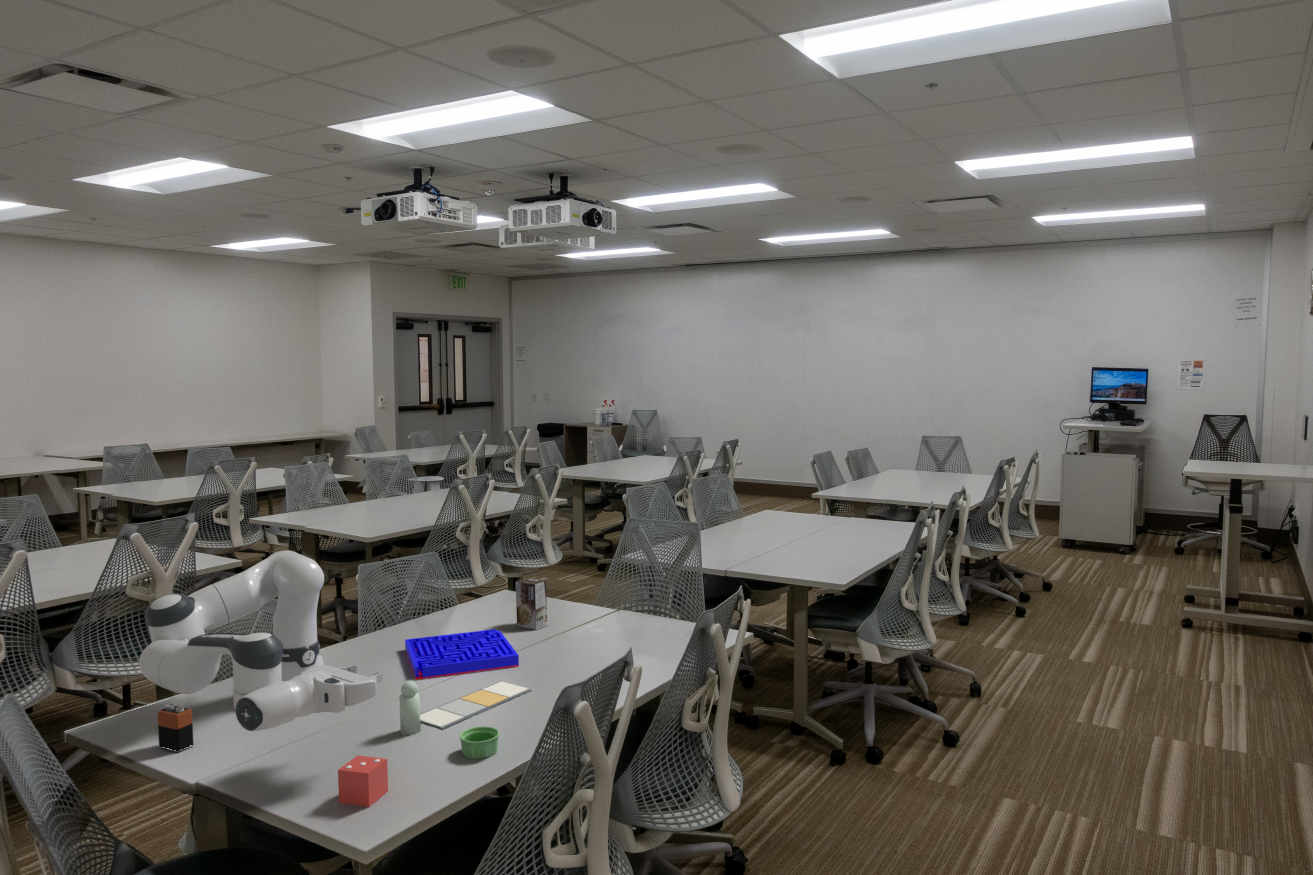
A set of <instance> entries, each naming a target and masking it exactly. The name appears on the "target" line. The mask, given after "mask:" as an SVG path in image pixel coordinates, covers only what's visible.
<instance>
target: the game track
mask: <svg viewBox="0 0 1313 875" xmlns="http://www.w3.org/2000/svg"><path fill="white" fill-rule="evenodd" d="M531 691H532V689H530V688H528V687H525V686H520V685H516V684H513V683H509V682H505V681H498V682H495V683H493V684H491V685H488V686H486V687H483V688H480V689H478V690H476V691H473V692H471V693H468V694H466V695H463V696H461V697H458V698H456V699H454V700H452V701H451V700H450V701H449V702H446V703H444V704H442V705H439V706H436V707H433V708H432V709H429V710H426V711H424V712H422V713H420V722H421V724H425V725H428V726H430V727H433V726H434V728H436V727H437V729H440V730H446V729H447V728H450V727H452V726H454V725H456V724H459V723H461V722H463V720H464V721H466V720H468V719H470V718H473V717H475V716H478V715H479V713H480V714H482V713H484V712H486V711H488V709H489V710H491V709H493V708H495V706H496V707H497V705H498V706H500V705H501V704H504V702H505V703H506V701H507V702H509V701H512V700H514V699H515V698H519V697H520V696H523V695H525V694H527V693H529V692H531ZM490 708H491V709H490ZM485 710H486V711H485ZM483 711H484V712H483ZM481 712H482V713H481ZM474 715H475V716H474ZM472 716H473V717H472Z"/></svg>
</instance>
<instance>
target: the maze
mask: <svg viewBox="0 0 1313 875" xmlns="http://www.w3.org/2000/svg"><path fill="white" fill-rule="evenodd" d="M404 647H405V648H404V651H405V650H406V651H405V653H407V654H406V656H407V660H408V661H409V664H410V667H411V670H412V673H413V675H414V679H415V681H419V679H420V680H425V678H428V679H434V678H433V677H435V678H442V677H441V676H443V677H449V676H455V675H456V676H457V675H464V673H466V674H470V673H471V672H473V673H478V672H477V671H481V672H486V671H485V670H489V671H494V670H493V669H496V670H502V669H503V668H504V669H509V668H510V667H511V668H517V667H520V664H519V662H520V659H519V658H520V657H519V654H518V652H517V651H516V650H515V648H514V647H513V646H512V645H511V643H510V642H509V640H508V639H507V638H506V637H505V636H504V634H503V633H502V632H501V630H497V629H496V628H495V629H484V630H478V631H470V632H469V631H468V632H461V633H459V632H458V633H450V634H442V635H434V636H433V635H431V636H423V637H415V638H408V639H407V638H406V639H404ZM471 674H472V673H471Z"/></svg>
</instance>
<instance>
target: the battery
mask: <svg viewBox="0 0 1313 875" xmlns="http://www.w3.org/2000/svg"><path fill="white" fill-rule="evenodd" d="M164 707H165V708H162V709H159V710H158V711H157V726H158V727H157V730H158V732H157V733H158V747H159V746H160V747H165V748H169V749H172V750H176V751H179V750H181V749H184V748H186V747H189V746H190V745H193V746H194V728H193V727H194V724H193V710H192V708H189V707H184V706H178V705H175V703H168V704H165V705H164ZM160 747H159V748H160Z"/></svg>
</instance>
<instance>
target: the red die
mask: <svg viewBox="0 0 1313 875" xmlns="http://www.w3.org/2000/svg"><path fill="white" fill-rule="evenodd" d="M388 774H389V772H388V758H383V757H375V756H367V755H356V756H355V757H354V758H352V759H350V760H349V761H348V762H347V763H345V764H344V765H343V766H341V767H340V768H339V769H337V782H338V786H337V787H338V804H345V805H351V806H360V807H366V808H370V807H371V806H372V805H373V804H374V803H376V802H377V801H378V800H380V799H381V798H382V797H383V796H384V795H385V794H387V793H388V792H389V780H388V779H389V778H388V777H389V776H388Z"/></svg>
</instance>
